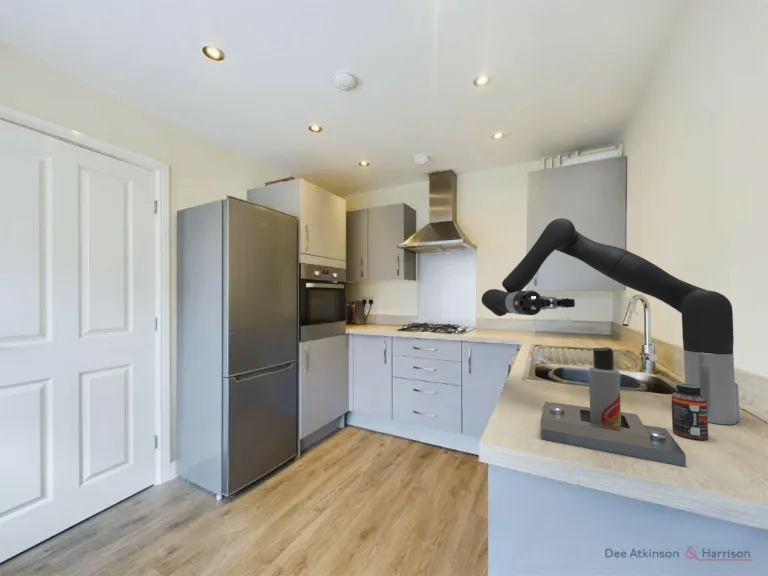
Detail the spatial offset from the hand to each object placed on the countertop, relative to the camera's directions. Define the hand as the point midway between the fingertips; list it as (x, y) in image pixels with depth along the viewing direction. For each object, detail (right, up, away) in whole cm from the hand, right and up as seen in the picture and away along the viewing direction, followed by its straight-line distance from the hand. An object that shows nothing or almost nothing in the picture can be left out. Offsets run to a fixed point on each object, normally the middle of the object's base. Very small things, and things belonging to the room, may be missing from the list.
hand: (559, 303), depth 85 cm
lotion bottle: (+3, -30, -14) cm, 33 cm away
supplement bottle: (+23, -30, -12) cm, 40 cm away
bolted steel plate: (+2, -29, -14) cm, 33 cm away
